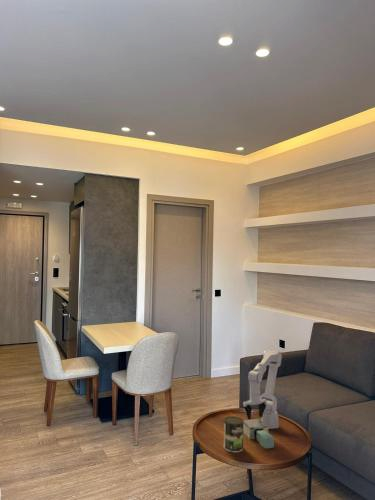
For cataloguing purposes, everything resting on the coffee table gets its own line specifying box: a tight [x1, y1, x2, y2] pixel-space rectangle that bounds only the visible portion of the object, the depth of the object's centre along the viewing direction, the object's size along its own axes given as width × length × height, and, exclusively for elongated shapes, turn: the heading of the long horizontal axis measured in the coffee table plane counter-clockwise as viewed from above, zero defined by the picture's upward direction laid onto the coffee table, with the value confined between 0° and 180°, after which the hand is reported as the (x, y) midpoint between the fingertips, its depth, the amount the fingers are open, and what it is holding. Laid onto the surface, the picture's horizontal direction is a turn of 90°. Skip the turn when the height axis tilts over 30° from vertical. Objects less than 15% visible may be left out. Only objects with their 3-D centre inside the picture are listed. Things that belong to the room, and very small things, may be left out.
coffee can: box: [223, 416, 244, 453], centre depth 192 cm, size 10×10×14 cm
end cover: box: [255, 430, 275, 449], centre depth 196 cm, size 5×10×5 cm, turn 15°
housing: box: [243, 418, 269, 440], centre depth 208 cm, size 11×10×6 cm
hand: (254, 417), depth 205 cm, fingers open, 7 cm apart
